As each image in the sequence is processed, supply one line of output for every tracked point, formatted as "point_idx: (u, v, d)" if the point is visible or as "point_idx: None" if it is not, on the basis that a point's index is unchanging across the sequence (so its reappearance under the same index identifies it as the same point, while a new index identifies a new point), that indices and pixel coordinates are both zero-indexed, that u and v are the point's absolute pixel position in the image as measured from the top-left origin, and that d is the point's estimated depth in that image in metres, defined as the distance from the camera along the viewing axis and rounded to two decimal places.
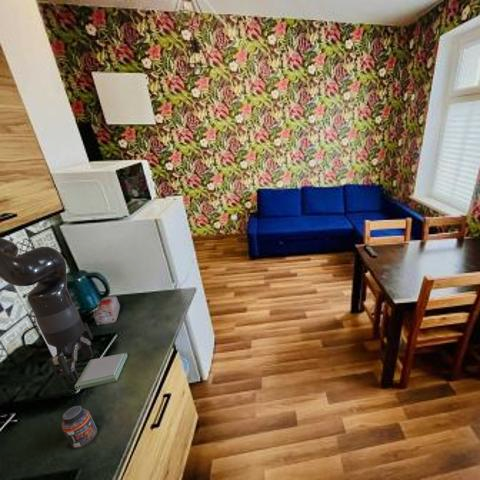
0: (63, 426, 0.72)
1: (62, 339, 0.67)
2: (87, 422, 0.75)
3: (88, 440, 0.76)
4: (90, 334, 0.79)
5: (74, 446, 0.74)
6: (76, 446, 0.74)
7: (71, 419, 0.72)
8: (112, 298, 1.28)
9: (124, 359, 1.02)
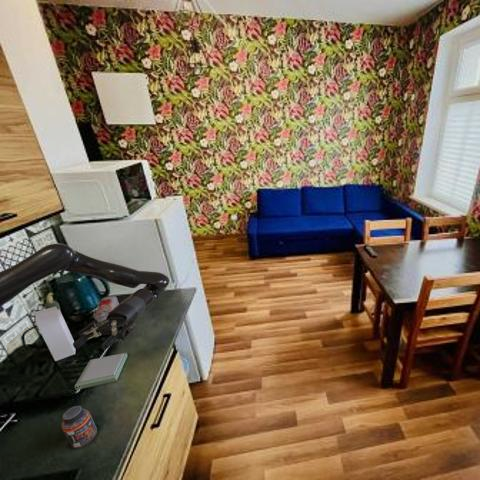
0: (63, 426, 0.72)
1: (132, 319, 0.91)
2: (87, 422, 0.75)
3: (88, 440, 0.76)
4: None
5: (74, 446, 0.74)
6: (76, 446, 0.74)
7: (71, 419, 0.72)
8: (112, 298, 1.28)
9: (124, 359, 1.02)
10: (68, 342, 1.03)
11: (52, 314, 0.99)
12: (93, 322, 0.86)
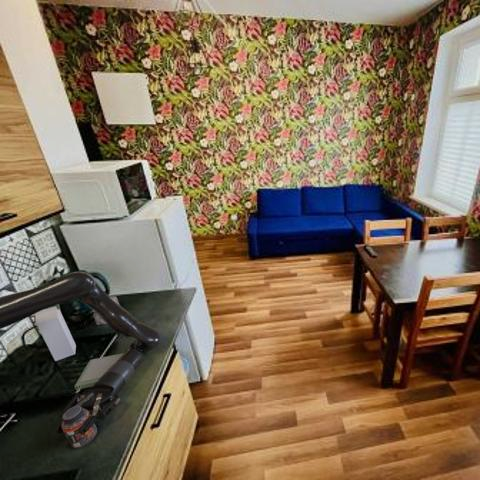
0: (63, 426, 0.72)
1: (120, 389, 0.86)
2: None
3: (88, 440, 0.76)
4: None
5: (74, 446, 0.74)
6: (76, 446, 0.74)
7: (71, 419, 0.72)
8: (112, 298, 1.28)
9: None
10: (68, 342, 1.03)
11: (52, 314, 0.99)
12: (76, 397, 0.81)
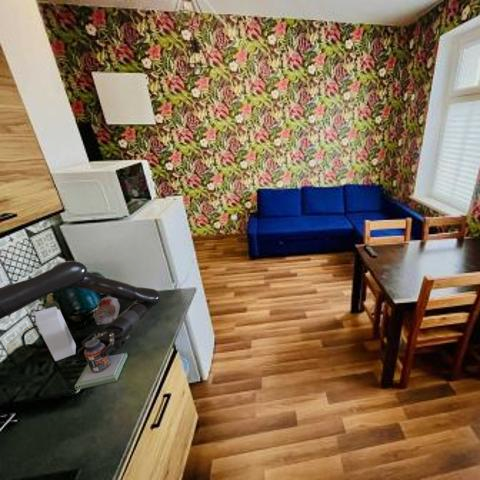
0: (85, 353, 0.92)
1: (128, 331, 1.05)
2: None
3: (104, 366, 0.96)
4: None
5: (93, 370, 0.94)
6: (95, 370, 0.94)
7: (92, 347, 0.92)
8: (112, 298, 1.28)
9: (124, 359, 1.02)
10: (68, 342, 1.03)
11: (52, 314, 0.99)
12: (94, 333, 1.01)
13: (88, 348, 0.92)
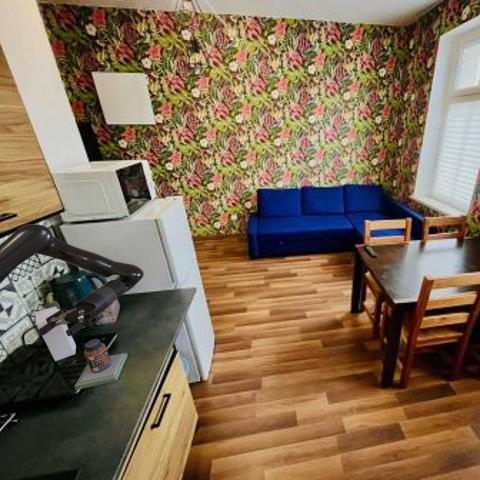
0: (85, 353, 0.92)
1: (102, 309, 0.92)
2: (103, 351, 0.95)
3: (104, 366, 0.96)
4: None
5: (93, 370, 0.94)
6: (95, 370, 0.94)
7: (92, 347, 0.92)
8: None
9: (124, 359, 1.02)
10: (68, 342, 1.03)
11: (52, 314, 0.99)
12: (61, 310, 0.88)
13: (88, 348, 0.92)
